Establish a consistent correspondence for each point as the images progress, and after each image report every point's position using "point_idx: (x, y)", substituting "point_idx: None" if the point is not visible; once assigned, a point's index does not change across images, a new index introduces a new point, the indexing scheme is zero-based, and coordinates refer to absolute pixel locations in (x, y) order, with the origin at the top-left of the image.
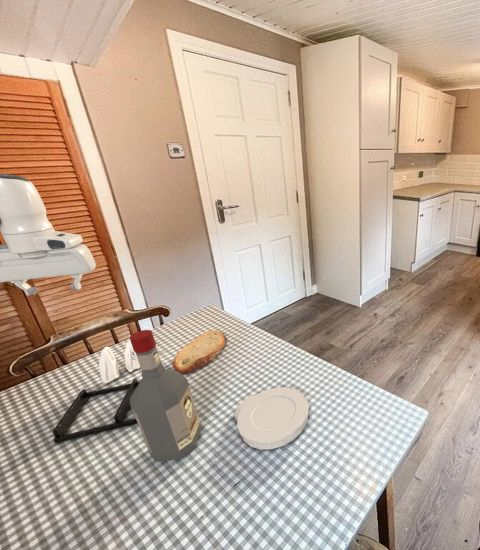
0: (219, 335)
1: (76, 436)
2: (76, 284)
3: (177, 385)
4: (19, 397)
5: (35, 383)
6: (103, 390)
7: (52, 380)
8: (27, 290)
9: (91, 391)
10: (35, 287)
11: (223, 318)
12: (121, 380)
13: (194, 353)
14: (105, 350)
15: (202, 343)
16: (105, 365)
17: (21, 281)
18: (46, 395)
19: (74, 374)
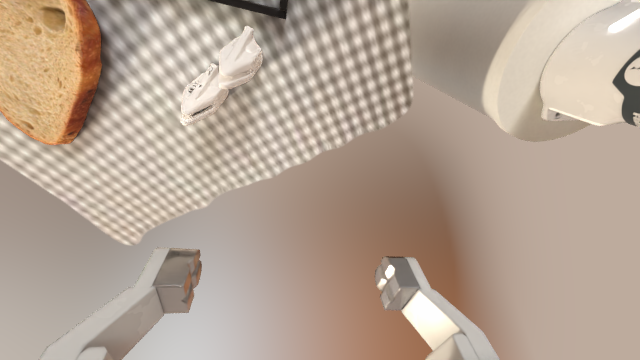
0: (8, 112)
1: None
2: (137, 283)
3: None
4: (397, 92)
5: (380, 126)
6: (248, 2)
7: (357, 121)
8: (415, 283)
9: (274, 15)
10: (383, 304)
11: (71, 201)
12: None
13: (40, 44)
14: (220, 69)
15: (44, 91)
16: (234, 46)
17: (458, 356)
18: (359, 72)
19: (326, 122)
